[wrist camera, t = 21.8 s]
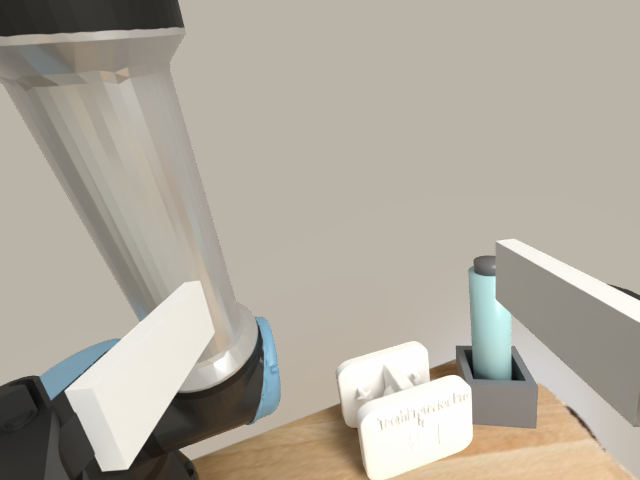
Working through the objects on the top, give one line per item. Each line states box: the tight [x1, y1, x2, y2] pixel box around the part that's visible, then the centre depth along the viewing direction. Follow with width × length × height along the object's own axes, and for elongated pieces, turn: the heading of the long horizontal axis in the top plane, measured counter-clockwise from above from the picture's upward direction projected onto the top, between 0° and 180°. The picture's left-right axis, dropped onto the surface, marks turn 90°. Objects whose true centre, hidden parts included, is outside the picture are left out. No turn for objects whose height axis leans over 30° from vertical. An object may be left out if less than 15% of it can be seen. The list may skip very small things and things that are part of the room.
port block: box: [456, 346, 538, 428], centre depth 47 cm, size 9×9×7 cm
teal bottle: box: [469, 256, 512, 380], centre depth 44 cm, size 5×5×24 cm
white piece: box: [336, 341, 473, 480], centre depth 43 cm, size 15×11×12 cm
